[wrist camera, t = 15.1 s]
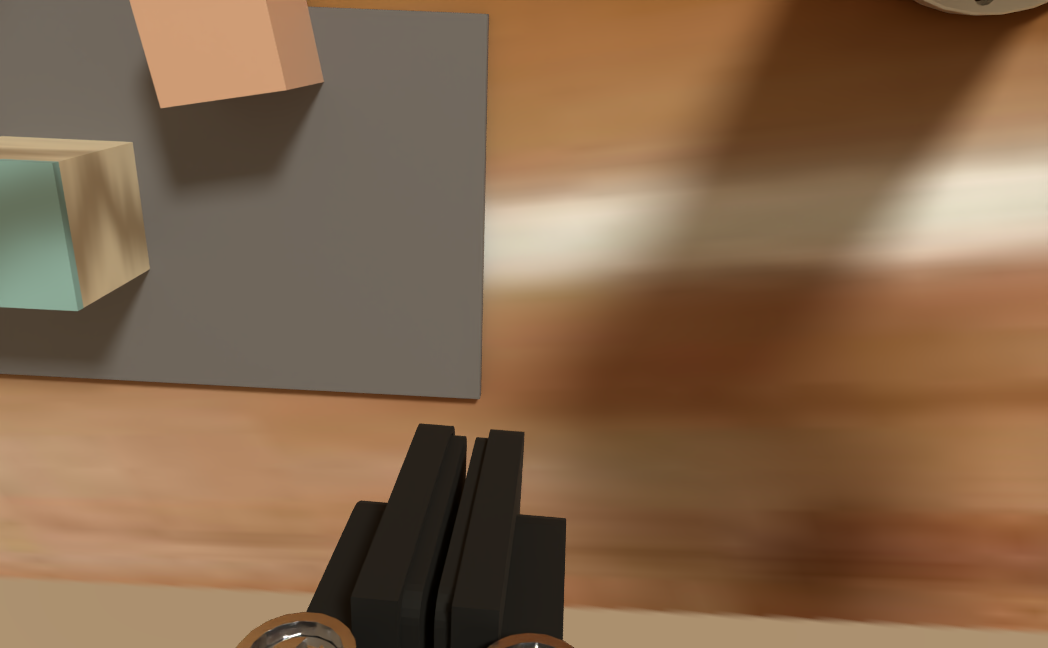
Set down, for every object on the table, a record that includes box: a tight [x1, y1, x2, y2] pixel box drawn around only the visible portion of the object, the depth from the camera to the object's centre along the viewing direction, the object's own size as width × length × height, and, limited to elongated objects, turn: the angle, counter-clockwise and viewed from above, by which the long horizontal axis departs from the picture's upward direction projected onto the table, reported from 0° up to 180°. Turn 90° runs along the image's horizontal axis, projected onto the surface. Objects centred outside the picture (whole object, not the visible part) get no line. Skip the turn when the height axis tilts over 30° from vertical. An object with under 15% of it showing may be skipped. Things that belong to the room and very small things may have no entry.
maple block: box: [0, 136, 150, 311], centre depth 34 cm, size 6×6×6 cm
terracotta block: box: [129, 0, 324, 108], centre depth 31 cm, size 5×5×5 cm
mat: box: [0, 0, 489, 399], centre depth 37 cm, size 18×28×1 cm, turn 88°
